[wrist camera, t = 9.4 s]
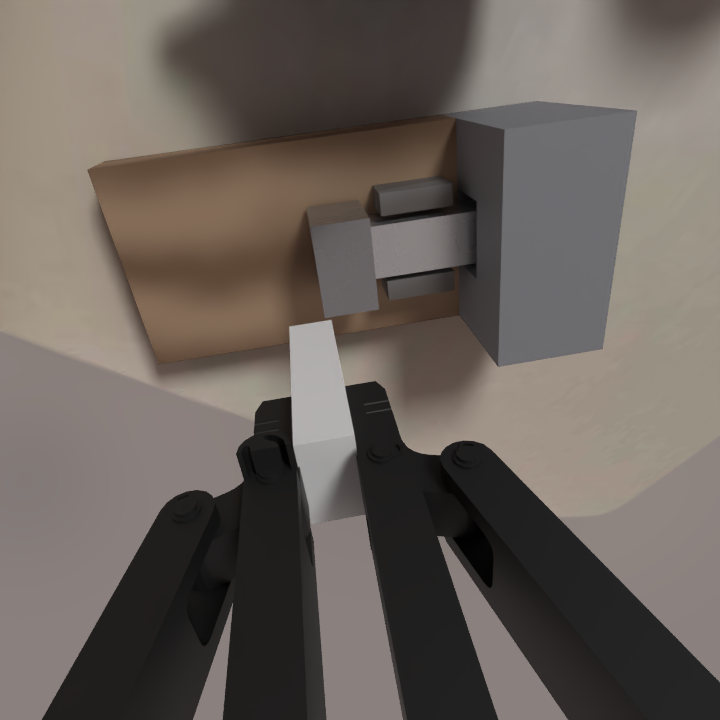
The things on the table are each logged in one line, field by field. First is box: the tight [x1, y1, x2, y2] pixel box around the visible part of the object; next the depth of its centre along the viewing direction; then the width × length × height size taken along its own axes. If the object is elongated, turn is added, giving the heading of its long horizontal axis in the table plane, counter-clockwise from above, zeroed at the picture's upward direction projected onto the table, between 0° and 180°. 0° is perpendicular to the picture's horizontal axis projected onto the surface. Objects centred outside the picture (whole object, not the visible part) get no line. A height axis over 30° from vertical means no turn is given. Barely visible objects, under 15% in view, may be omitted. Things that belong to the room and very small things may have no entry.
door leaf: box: [88, 115, 460, 364], centre depth 30 cm, size 12×20×5 cm, turn 97°
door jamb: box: [442, 101, 637, 367], centre depth 29 cm, size 12×6×10 cm, turn 7°
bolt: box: [306, 200, 477, 318], centre depth 28 cm, size 5×13×4 cm, turn 97°
